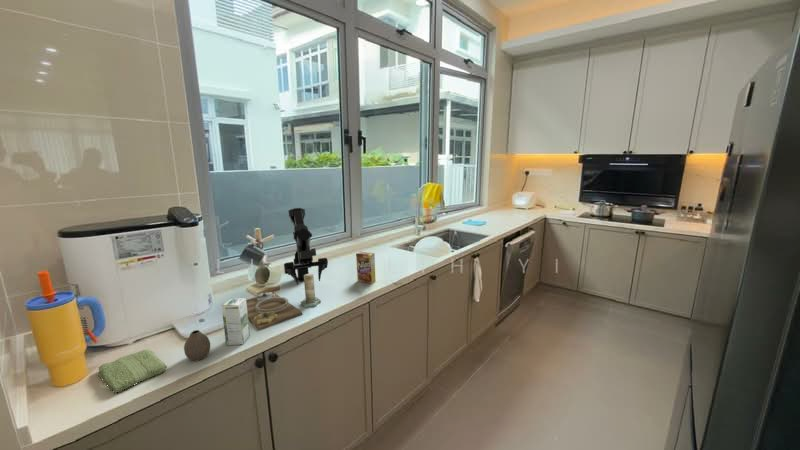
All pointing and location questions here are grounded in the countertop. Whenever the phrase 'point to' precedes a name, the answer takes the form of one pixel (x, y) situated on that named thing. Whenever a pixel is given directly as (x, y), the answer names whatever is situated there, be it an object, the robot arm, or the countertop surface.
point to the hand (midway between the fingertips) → (308, 282)
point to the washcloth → (130, 369)
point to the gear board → (271, 305)
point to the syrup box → (235, 321)
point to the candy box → (365, 267)
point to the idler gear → (310, 292)
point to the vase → (197, 346)
